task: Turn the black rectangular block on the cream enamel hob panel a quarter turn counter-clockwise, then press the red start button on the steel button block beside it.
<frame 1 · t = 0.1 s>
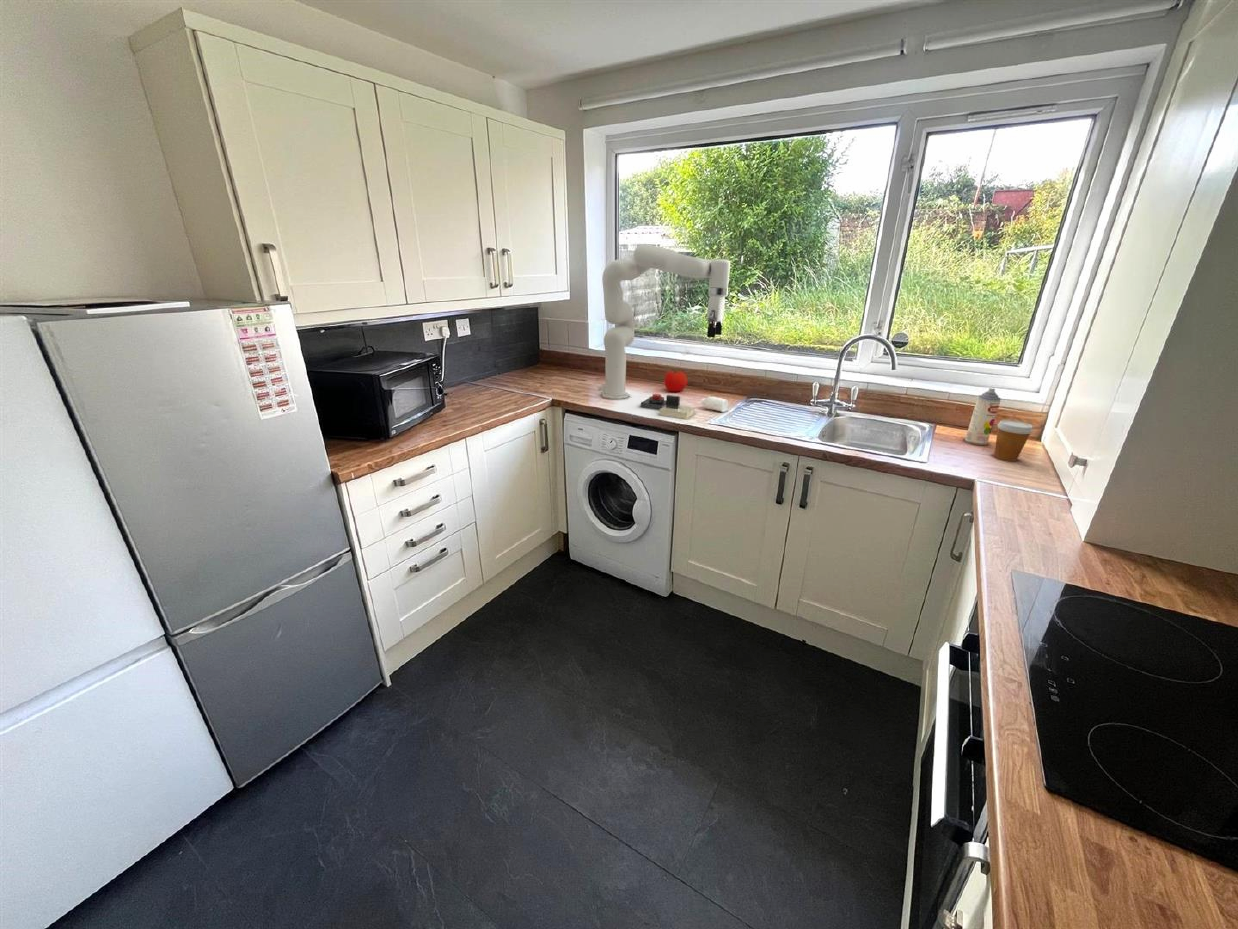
hand: (714, 335, 207), 31 cm above the countertop, tool pointing down, fingers open, 9 cm apart
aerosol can: (975, 442, 183), on the countertop
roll: (712, 409, 217), on the countertop
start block: (656, 406, 219), on the countertop
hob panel: (676, 414, 209), on the countertop
disposable coffee cup: (1004, 458, 168), on the countertop
start button: (656, 396, 218), point 4 cm above the countertop, slide at 0.1 cm
black rectangular block: (673, 401, 208), point 5 cm above the countertop, hinge at 0.0°
tomato: (674, 391, 249), on the countertop
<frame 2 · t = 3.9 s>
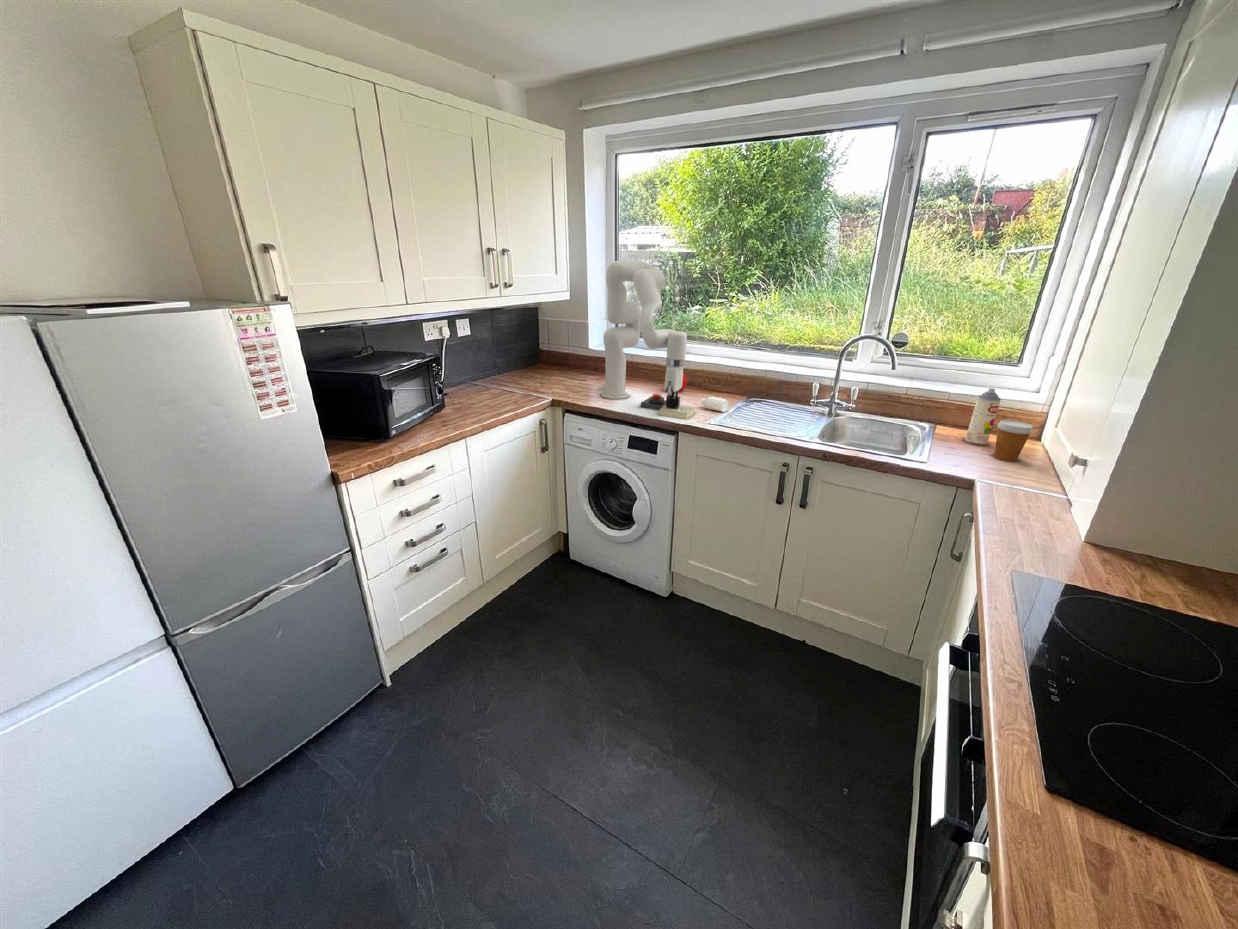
hand: (672, 406, 209), 3 cm above the countertop, tool pointing down, fingers closed on black rectangular block, 2 cm apart
black rectangular block: (673, 401, 208), point 5 cm above the countertop, hinge at 0.0°, touching gripper
everything else where it was.
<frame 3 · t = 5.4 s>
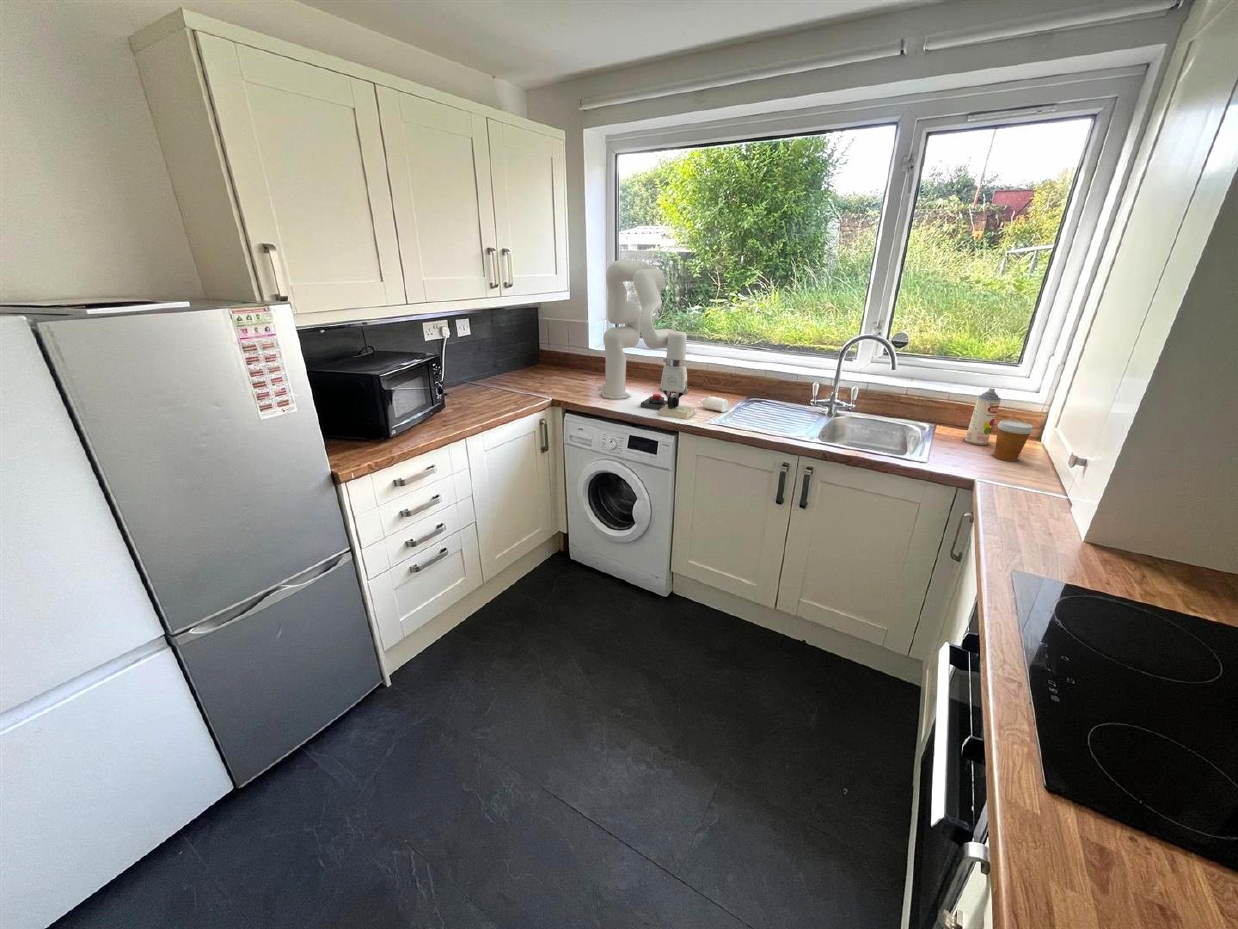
hand: (672, 406, 209), 3 cm above the countertop, tool pointing down, fingers closed on black rectangular block, 2 cm apart
black rectangular block: (673, 401, 208), point 5 cm above the countertop, hinge at 89.2°, touching gripper
everything else where it was.
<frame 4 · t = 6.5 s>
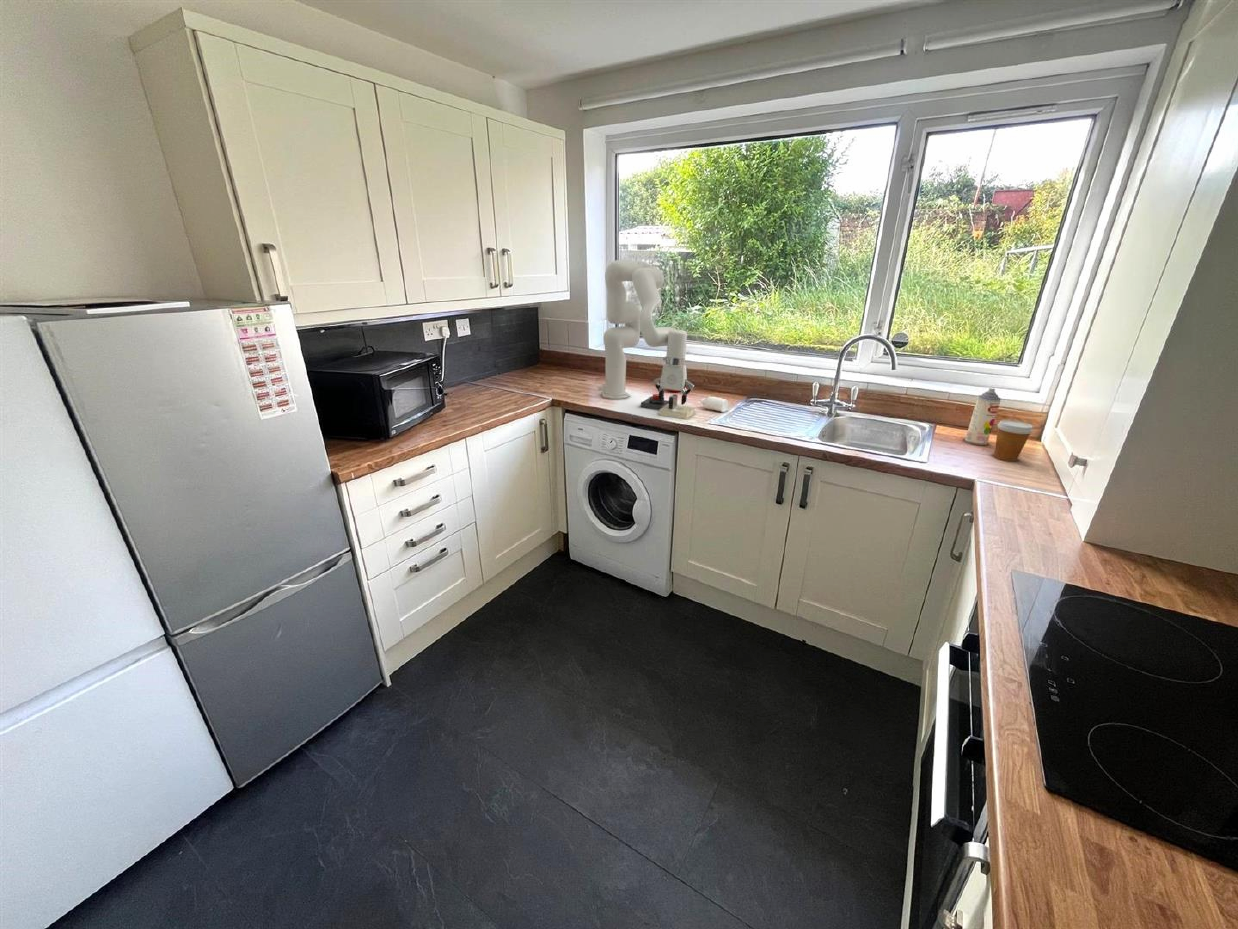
hand: (672, 402, 208), 5 cm above the countertop, tool pointing down, fingers open, 9 cm apart
black rectangular block: (673, 401, 208), point 5 cm above the countertop, hinge at 89.1°
everything else where it was.
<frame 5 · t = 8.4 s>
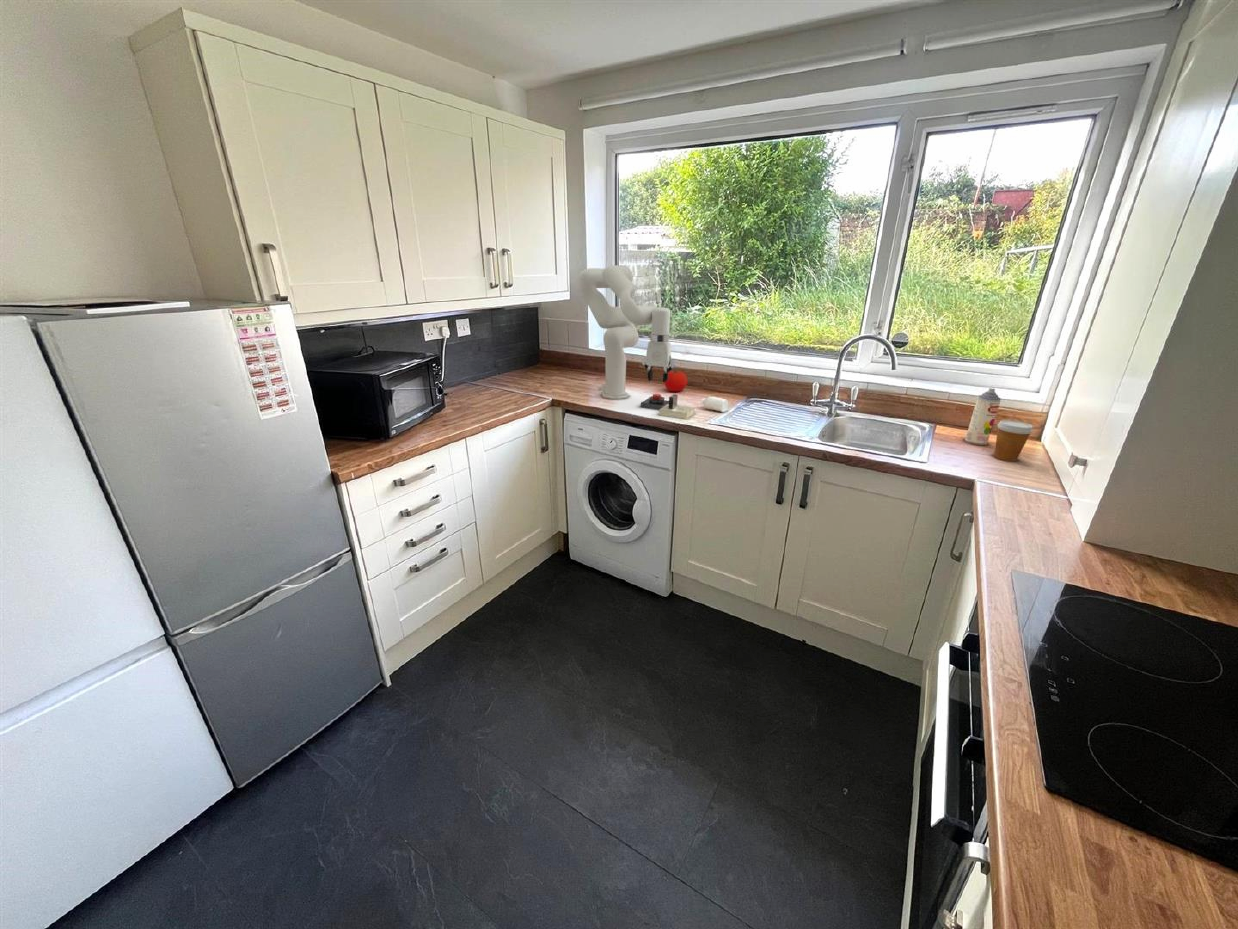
hand: (657, 380, 215), 12 cm above the countertop, tool pointing down, fingers open, 6 cm apart
nothing on the countertop moved.
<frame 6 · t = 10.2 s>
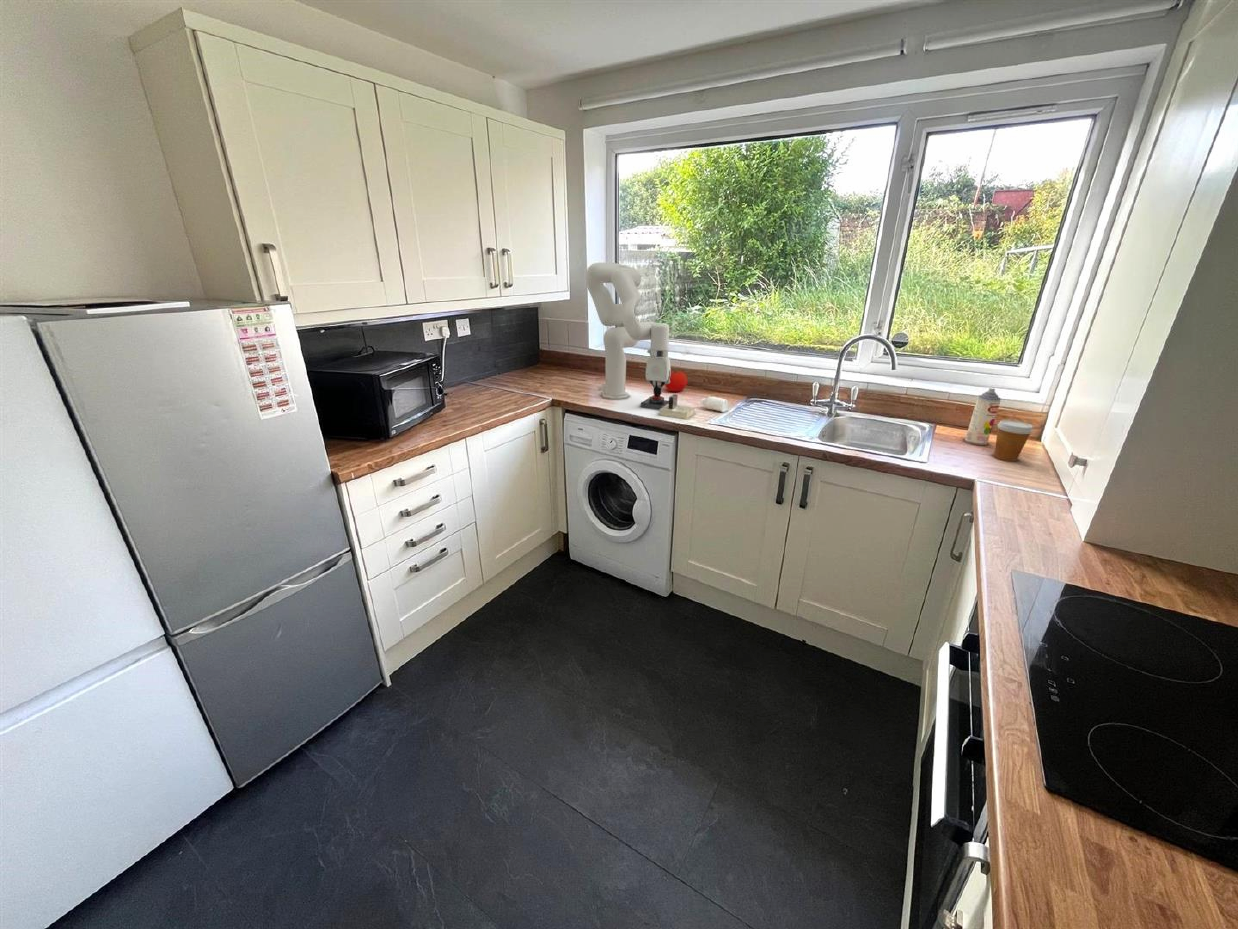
hand: (657, 395, 218), 5 cm above the countertop, tool pointing down, fingers closed
start button: (656, 397, 218), point 4 cm above the countertop, slide at -0.4 cm, touching gripper
everything else where it was.
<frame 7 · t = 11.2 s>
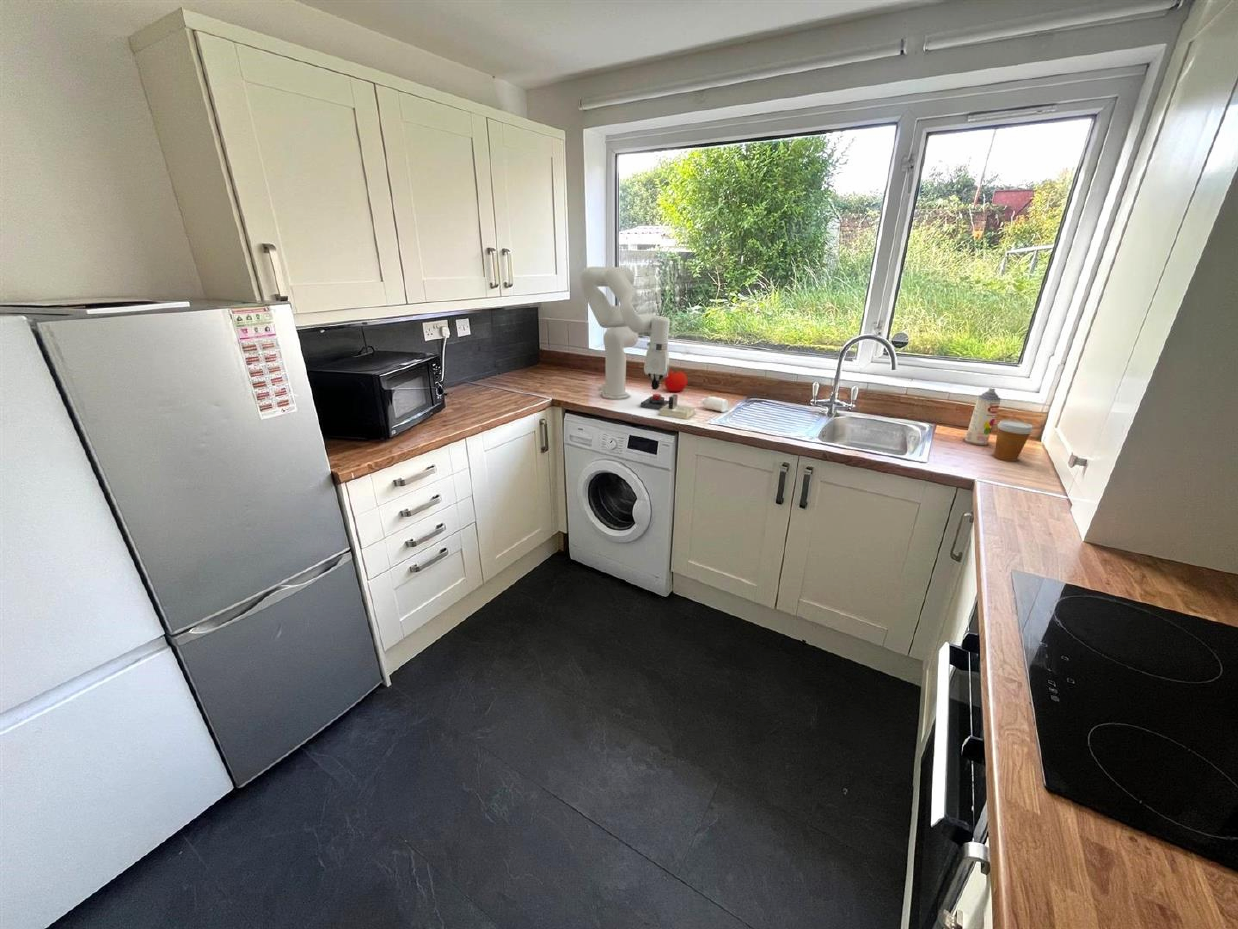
hand: (654, 388, 218), 7 cm above the countertop, tool pointing down, fingers closed
start button: (656, 396, 218), point 4 cm above the countertop, slide at 0.1 cm
everything else where it was.
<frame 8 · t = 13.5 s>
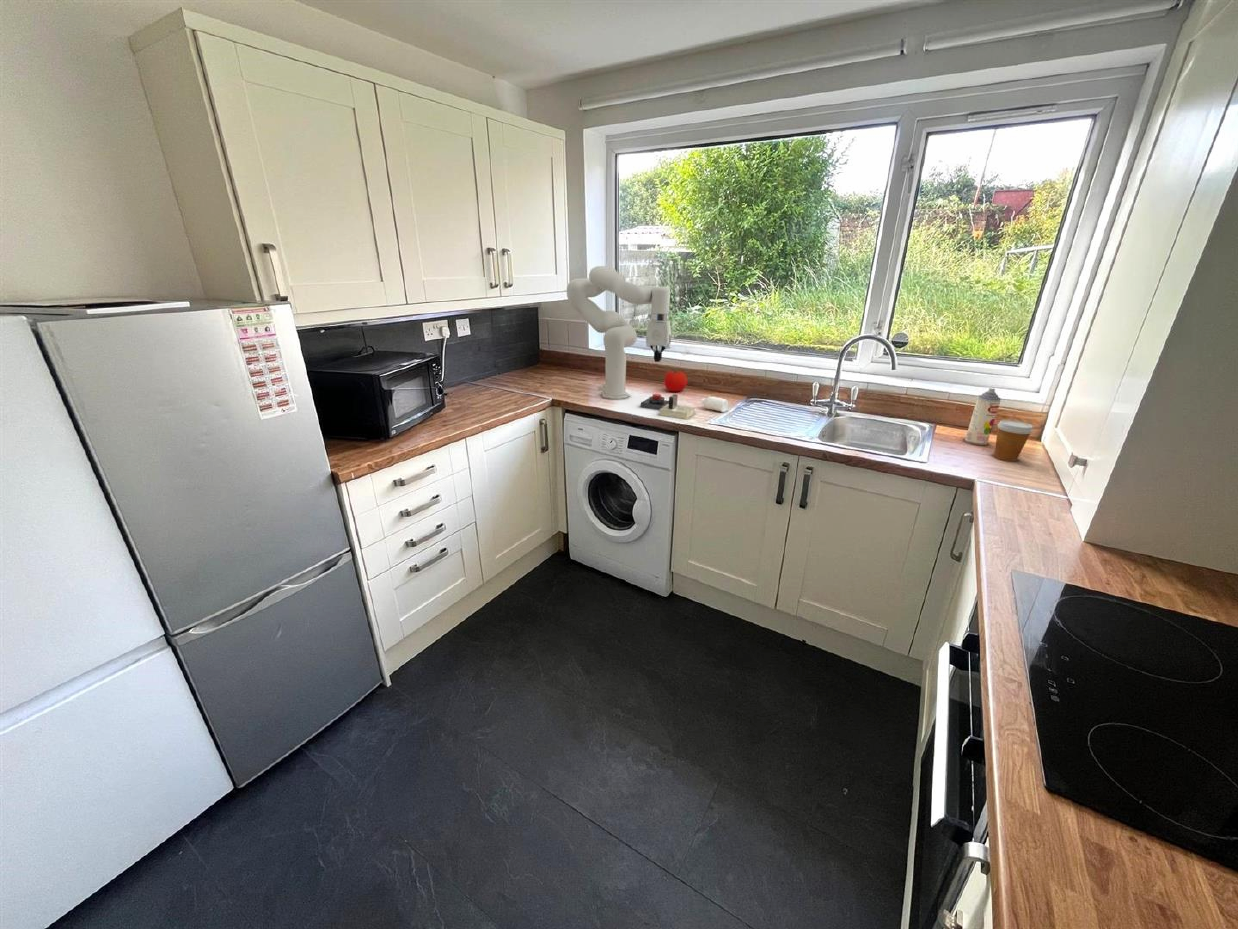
hand: (657, 361, 217), 19 cm above the countertop, tool pointing down, fingers closed
nothing on the countertop moved.
at the end: black rectangular block at +89° (first picture: +0°); start button pushed in 1.1 cm at the most during the clip, back to where it started at the end; start button slide at 0.1 cm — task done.
